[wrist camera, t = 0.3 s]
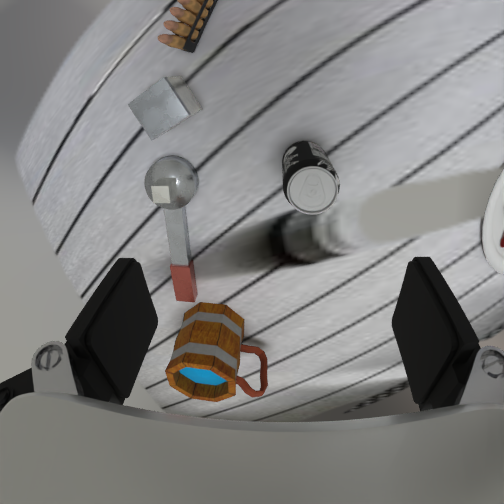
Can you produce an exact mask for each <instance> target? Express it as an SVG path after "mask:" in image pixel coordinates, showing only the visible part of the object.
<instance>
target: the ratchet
mask: <svg viewBox="0 0 504 504" xmlns="http://www.w3.org/2000/svg"><path fill="white" fill-rule="evenodd" d="M197 187H198V176H197V173H196V170H195V169H194V167H193V166H192V165H191V163H189V162H188V161H187V160H185V159H183V158H181V157H178V156H167V157H164V158H162V159H160V160H159V161H158V162H156V163H155V164H154V165H153V166H151V167H150V169H149V170H148V172H147V174H146V176H145V189H146V192H147V194H148V196H149V198H150V199H151V200H152V201H153V203H155V204H156V205H158V206H159V207H161V208H164V215H165V222H166V229H167V236H168V242H169V248H170V255H171V261H172V264H171V266H170V269H171V275H172V280H173V285H174V291H175V296H176V301H185V302H195V300H196V297H197V288H196V280H195V273H194V265H193V260H191V254H190V245H189V237H188V228H187V218H186V209H185V205H187V204H188V203H189V201H190V200H191V199H192V197H193V196H194V194H195V192H196V190H197Z"/></svg>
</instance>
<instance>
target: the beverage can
mask: <svg viewBox="0 0 504 504" xmlns="http://www.w3.org/2000/svg"><path fill="white" fill-rule="evenodd" d="M282 168H283V191H284V194H285V197H286V199H287V200H288V202H289V203H290V204H291V205H292V206H293V207H294V208H295V209H297V210H298V211H300V212H302V213H305V214H319V213H322V212H325V211H326V210H328V209H329V208H330V207H331V206H332V205H333V204H334V203H335V201H336V199H337V196H338V193H339V188H340V183H339V178H338V175H337V173H336V171H335V170H334V168H333V166H332V164H331V162H330V161H329V159H328V157H327V155H326V153H325V152H324V150H323V149H322V148H321V147H320V146H319V145H317V144H315V143H313V142H308V141H302V142H297V143H295V144H293V145H292V146H290V147H289V148H288V149H287V150H286V152H285V154H284V156H283V160H282Z"/></svg>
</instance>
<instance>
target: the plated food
mask: <svg viewBox="0 0 504 504" xmlns="http://www.w3.org/2000/svg"><path fill="white" fill-rule="evenodd" d="M482 243H483V251H484V254H485V257H486V259H487V261H488V263H489V264H490V266H491V267H492V268H493V269H494V270H495V271H497V272H498V273H500V274H503V275H504V169H503V170H502V172H501V174H500V175H499V177H498V179H497V181H496V182H495V185H494V187H493V190H492V192H491V194H490V197H489V200H488V203H487V207H486V210H485V214H484V220H483V226H482Z"/></svg>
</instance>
